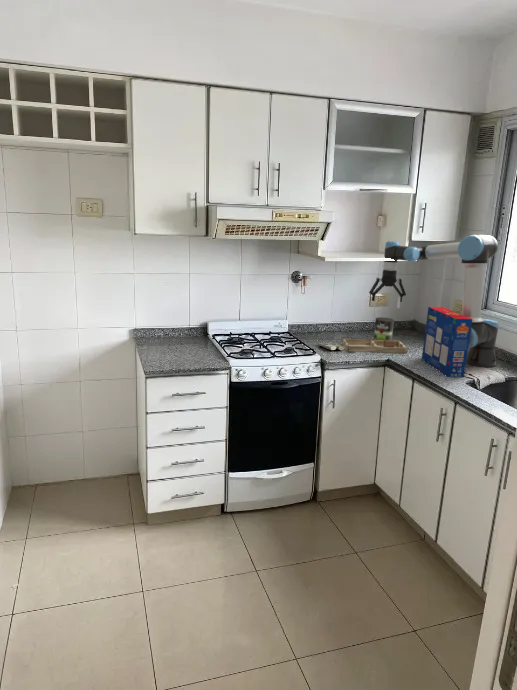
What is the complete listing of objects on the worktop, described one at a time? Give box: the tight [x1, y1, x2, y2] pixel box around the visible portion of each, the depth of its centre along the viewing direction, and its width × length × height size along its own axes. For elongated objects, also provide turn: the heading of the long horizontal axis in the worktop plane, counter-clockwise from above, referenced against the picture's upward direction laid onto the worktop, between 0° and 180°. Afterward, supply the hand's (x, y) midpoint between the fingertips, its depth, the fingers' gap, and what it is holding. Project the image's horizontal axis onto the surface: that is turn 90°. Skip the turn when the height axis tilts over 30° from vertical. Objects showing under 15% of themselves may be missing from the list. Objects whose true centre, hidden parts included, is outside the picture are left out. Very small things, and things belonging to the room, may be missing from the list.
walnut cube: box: [383, 339, 395, 347], centre depth 283 cm, size 4×4×4 cm
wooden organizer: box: [342, 338, 409, 354], centre depth 284 cm, size 16×32×4 cm, turn 90°
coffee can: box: [373, 317, 395, 340], centre depth 297 cm, size 10×10×14 cm
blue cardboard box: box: [421, 306, 472, 378], centre depth 252 cm, size 28×8×28 cm, turn 8°
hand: (386, 307), depth 293 cm, fingers open, 13 cm apart
